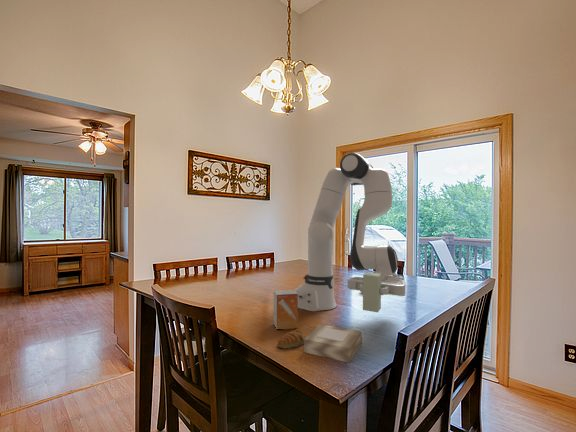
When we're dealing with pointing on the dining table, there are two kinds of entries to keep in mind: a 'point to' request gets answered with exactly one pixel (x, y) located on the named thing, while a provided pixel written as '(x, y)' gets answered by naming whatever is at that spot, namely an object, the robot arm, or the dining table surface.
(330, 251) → the robot arm
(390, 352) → the dining table surface
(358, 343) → the base plinth
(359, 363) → the dining table surface
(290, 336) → the pastry
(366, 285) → the sage block
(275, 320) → the small box
